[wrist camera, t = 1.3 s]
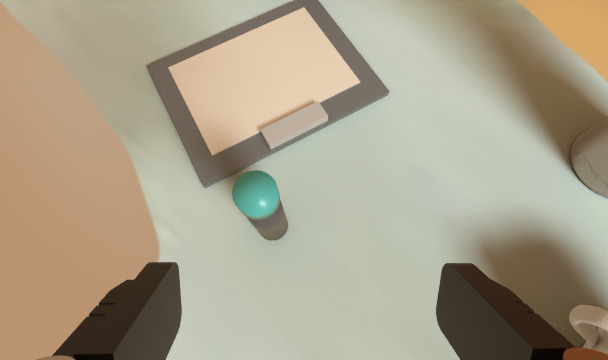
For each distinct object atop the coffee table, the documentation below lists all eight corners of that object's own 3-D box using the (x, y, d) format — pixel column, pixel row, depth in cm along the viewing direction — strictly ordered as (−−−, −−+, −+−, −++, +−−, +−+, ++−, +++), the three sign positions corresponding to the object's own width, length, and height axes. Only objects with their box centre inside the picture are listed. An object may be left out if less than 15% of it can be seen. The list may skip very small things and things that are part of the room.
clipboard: (312, -3, 50) (312, -15, 48) (388, 95, 43) (391, 85, 41) (149, 69, 46) (142, 59, 44) (205, 188, 39) (199, 182, 37)
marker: (279, 204, 38) (265, 163, 27) (294, 231, 37) (285, 199, 26) (251, 219, 38) (225, 183, 27) (265, 247, 37) (244, 221, 25)
